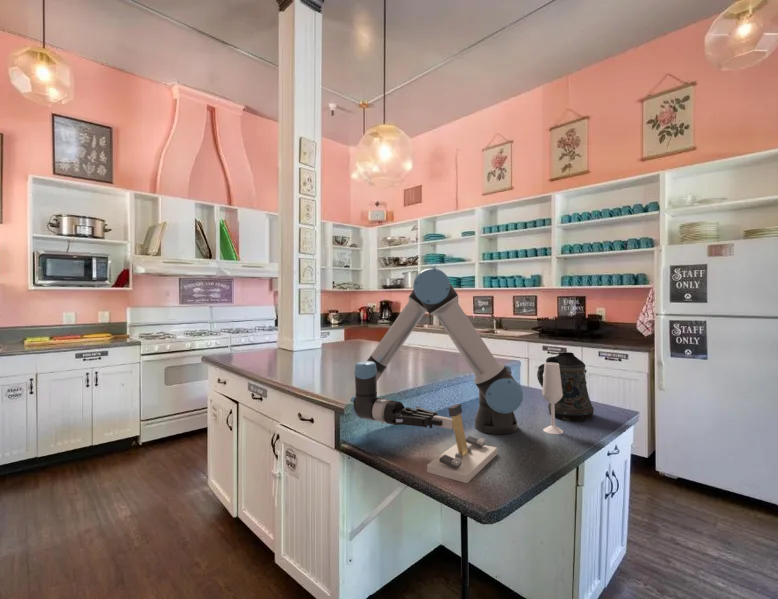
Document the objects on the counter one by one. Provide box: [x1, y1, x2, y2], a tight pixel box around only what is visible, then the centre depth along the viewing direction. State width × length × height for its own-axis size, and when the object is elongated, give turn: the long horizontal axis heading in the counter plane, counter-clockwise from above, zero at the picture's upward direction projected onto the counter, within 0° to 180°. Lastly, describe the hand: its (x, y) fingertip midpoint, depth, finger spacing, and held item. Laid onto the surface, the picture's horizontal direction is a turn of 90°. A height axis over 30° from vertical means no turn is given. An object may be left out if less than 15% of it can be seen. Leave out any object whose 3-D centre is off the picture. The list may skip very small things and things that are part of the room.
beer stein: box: [536, 351, 595, 423], centre depth 154 cm, size 16×19×25 cm
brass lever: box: [448, 403, 468, 457], centre depth 114 cm, size 4×2×14 cm, turn 144°
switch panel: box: [426, 442, 498, 484], centre depth 113 cm, size 22×12×4 cm, turn 144°
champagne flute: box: [541, 362, 564, 435], centre depth 137 cm, size 7×7×24 cm
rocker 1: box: [439, 455, 462, 469], centre depth 106 cm, size 3×5×2 cm, turn 54°
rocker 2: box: [465, 435, 486, 448], centre depth 120 cm, size 3×5×2 cm, turn 54°
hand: (453, 423), depth 114 cm, fingers closed
